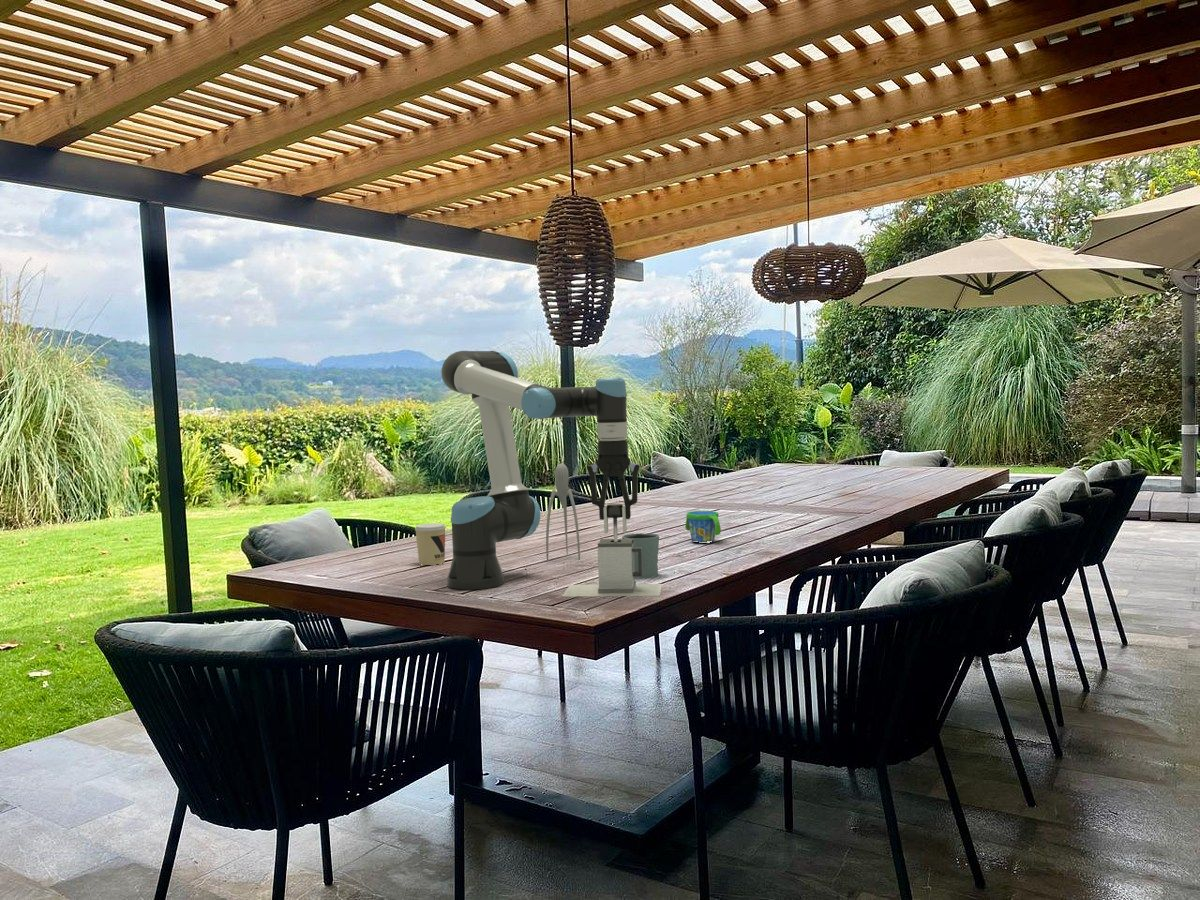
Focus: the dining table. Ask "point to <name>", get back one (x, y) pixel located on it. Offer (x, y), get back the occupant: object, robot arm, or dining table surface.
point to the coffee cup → (431, 543)
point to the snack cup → (703, 525)
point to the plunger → (614, 516)
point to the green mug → (646, 553)
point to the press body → (617, 565)
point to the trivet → (593, 591)
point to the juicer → (562, 503)
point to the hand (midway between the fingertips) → (615, 532)
